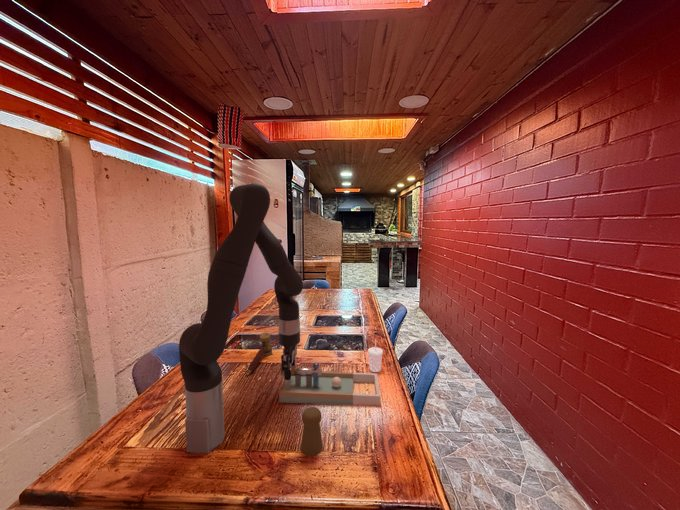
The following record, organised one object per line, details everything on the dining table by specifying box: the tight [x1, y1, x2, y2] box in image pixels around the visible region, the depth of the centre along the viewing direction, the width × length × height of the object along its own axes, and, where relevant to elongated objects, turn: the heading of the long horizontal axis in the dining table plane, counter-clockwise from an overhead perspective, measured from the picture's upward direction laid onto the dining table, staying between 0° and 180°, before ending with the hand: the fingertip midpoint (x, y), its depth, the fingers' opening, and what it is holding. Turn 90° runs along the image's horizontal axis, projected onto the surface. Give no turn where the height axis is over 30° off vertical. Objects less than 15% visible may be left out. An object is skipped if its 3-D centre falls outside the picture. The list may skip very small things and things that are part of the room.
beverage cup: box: [367, 338, 384, 373], centre depth 113 cm, size 6×6×14 cm
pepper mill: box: [300, 406, 324, 457], centre depth 74 cm, size 6×6×11 cm
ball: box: [332, 377, 341, 387], centre depth 99 cm, size 4×4×4 cm
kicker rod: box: [280, 362, 323, 387], centre depth 99 cm, size 3×14×8 cm, turn 87°
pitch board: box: [278, 370, 381, 406], centre depth 99 cm, size 14×34×7 cm, turn 87°
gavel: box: [246, 332, 273, 376], centre depth 119 cm, size 21×5×10 cm, turn 171°
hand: (289, 374), depth 99 cm, fingers open, 6 cm apart
